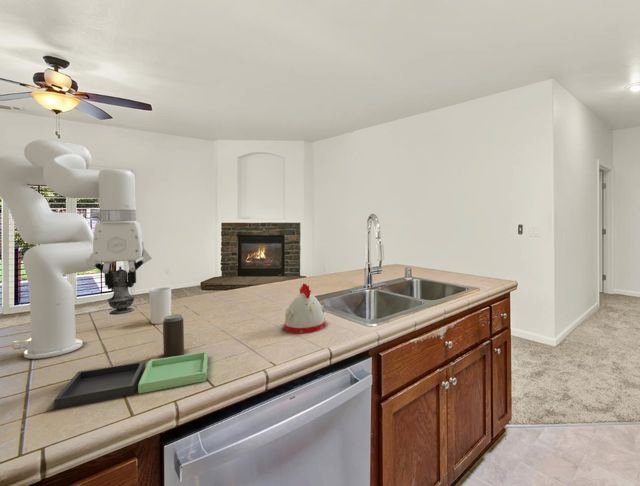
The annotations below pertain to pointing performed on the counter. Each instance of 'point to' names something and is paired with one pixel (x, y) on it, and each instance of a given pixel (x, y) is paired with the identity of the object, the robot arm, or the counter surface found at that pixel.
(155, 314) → the mug
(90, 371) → the dark tray
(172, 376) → the pale tray
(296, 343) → the counter surface
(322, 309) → the kitchen timer
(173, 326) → the pepper shaker
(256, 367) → the counter surface
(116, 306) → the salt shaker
